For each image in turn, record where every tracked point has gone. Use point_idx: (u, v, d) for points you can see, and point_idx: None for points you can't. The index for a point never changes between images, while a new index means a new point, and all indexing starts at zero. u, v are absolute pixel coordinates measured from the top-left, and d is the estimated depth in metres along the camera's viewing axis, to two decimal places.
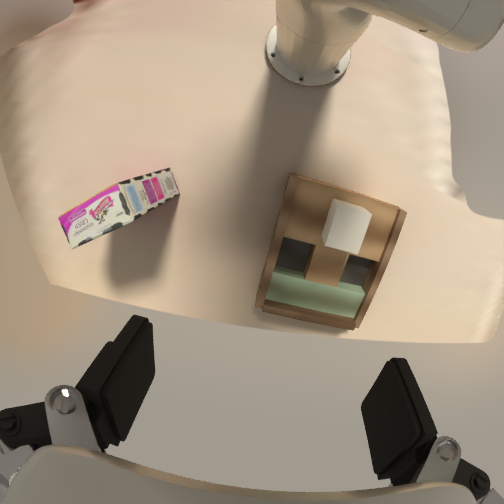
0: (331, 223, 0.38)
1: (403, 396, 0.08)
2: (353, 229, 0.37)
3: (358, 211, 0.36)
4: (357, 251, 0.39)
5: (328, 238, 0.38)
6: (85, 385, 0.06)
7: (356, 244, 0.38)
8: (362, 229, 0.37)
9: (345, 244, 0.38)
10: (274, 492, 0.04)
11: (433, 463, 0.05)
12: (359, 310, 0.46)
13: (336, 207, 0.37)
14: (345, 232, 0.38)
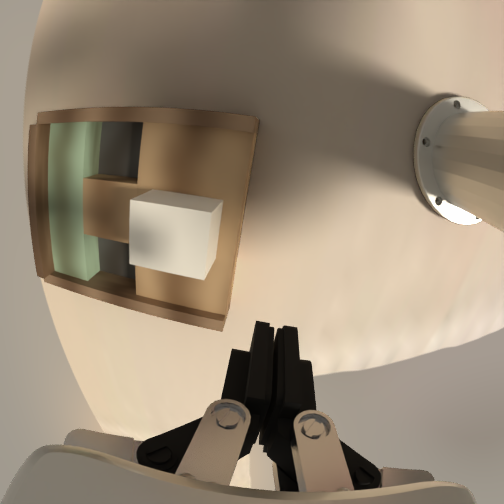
0: (172, 204, 0.19)
1: (277, 361, 0.09)
2: (169, 248, 0.20)
3: (204, 254, 0.20)
4: (134, 262, 0.21)
5: (143, 203, 0.19)
6: (249, 395, 0.07)
7: (145, 258, 0.20)
8: (172, 265, 0.20)
9: (140, 238, 0.20)
10: (274, 492, 0.04)
11: (309, 449, 0.06)
12: (64, 277, 0.26)
13: (204, 209, 0.19)
14: (160, 234, 0.20)
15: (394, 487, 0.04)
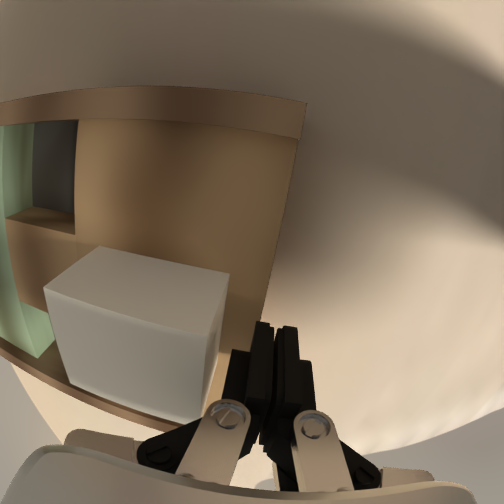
0: (121, 304, 0.08)
1: (277, 361, 0.09)
2: (128, 379, 0.09)
3: (196, 398, 0.09)
4: (76, 383, 0.10)
5: (66, 299, 0.08)
6: (249, 395, 0.07)
7: (91, 383, 0.10)
8: (139, 403, 0.09)
9: (75, 355, 0.09)
10: (274, 492, 0.04)
11: (308, 449, 0.06)
12: (10, 350, 0.15)
13: (190, 322, 0.08)
14: (106, 356, 0.09)
15: (394, 487, 0.04)
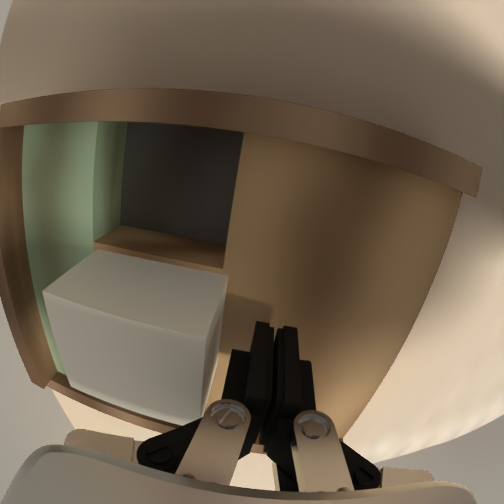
0: (120, 307, 0.08)
1: (277, 361, 0.09)
2: (128, 382, 0.09)
3: (196, 400, 0.09)
4: (76, 386, 0.10)
5: (65, 302, 0.08)
6: (249, 395, 0.07)
7: (91, 386, 0.09)
8: (140, 405, 0.09)
9: (75, 358, 0.09)
10: (274, 492, 0.04)
11: (308, 449, 0.06)
12: None
13: (189, 324, 0.08)
14: (106, 359, 0.09)
15: (394, 487, 0.04)
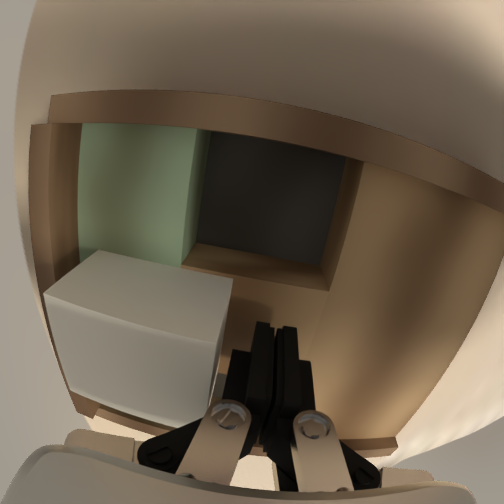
0: (126, 311, 0.08)
1: (277, 361, 0.09)
2: (132, 387, 0.09)
3: (202, 404, 0.09)
4: (76, 390, 0.09)
5: (68, 305, 0.08)
6: (250, 395, 0.07)
7: (92, 390, 0.09)
8: (142, 410, 0.09)
9: (76, 362, 0.09)
10: (274, 492, 0.04)
11: (308, 449, 0.06)
12: None
13: (198, 329, 0.08)
14: (109, 364, 0.08)
15: (394, 487, 0.04)
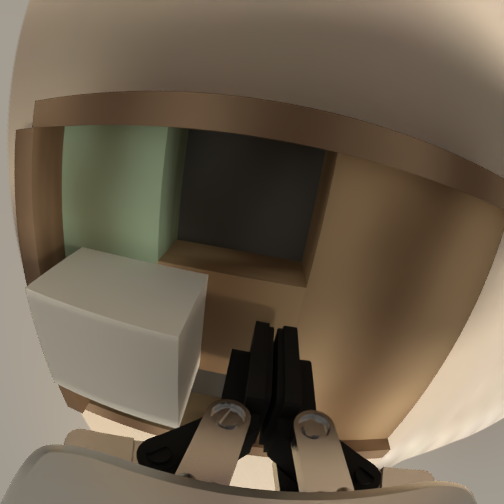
0: (98, 305, 0.08)
1: (277, 361, 0.09)
2: (107, 379, 0.09)
3: (173, 399, 0.09)
4: (60, 382, 0.09)
5: (46, 299, 0.08)
6: (249, 395, 0.07)
7: (74, 383, 0.09)
8: (120, 403, 0.09)
9: (57, 354, 0.09)
10: (274, 492, 0.04)
11: (308, 449, 0.06)
12: None
13: (163, 323, 0.08)
14: (85, 356, 0.08)
15: (394, 487, 0.04)
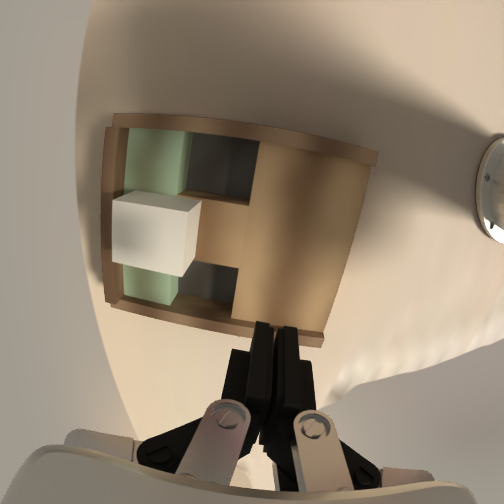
0: (152, 204, 0.20)
1: (277, 361, 0.09)
2: (149, 246, 0.20)
3: (181, 251, 0.20)
4: (116, 260, 0.21)
5: (125, 203, 0.19)
6: (249, 395, 0.07)
7: (126, 256, 0.21)
8: (152, 263, 0.21)
9: (121, 237, 0.20)
10: (274, 492, 0.04)
11: (308, 449, 0.06)
12: (141, 302, 0.26)
13: (181, 209, 0.20)
14: (140, 233, 0.20)
15: (394, 487, 0.04)
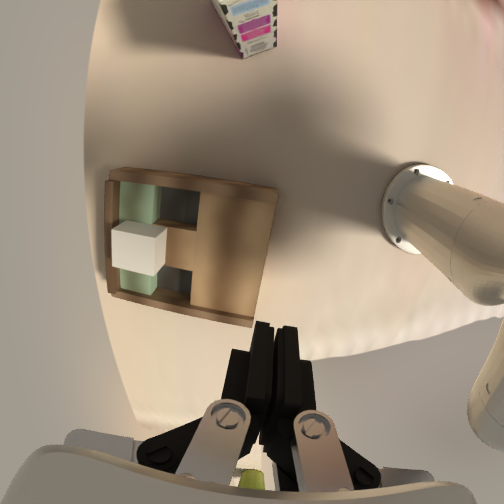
0: (135, 232, 0.32)
1: (277, 361, 0.09)
2: (134, 257, 0.33)
3: (152, 261, 0.33)
4: (114, 265, 0.34)
5: (119, 231, 0.32)
6: (249, 395, 0.07)
7: (120, 263, 0.34)
8: (136, 267, 0.34)
9: (117, 251, 0.33)
10: (274, 492, 0.04)
11: (308, 449, 0.06)
12: (131, 293, 0.39)
13: (152, 235, 0.32)
14: (128, 249, 0.33)
15: (394, 487, 0.04)
